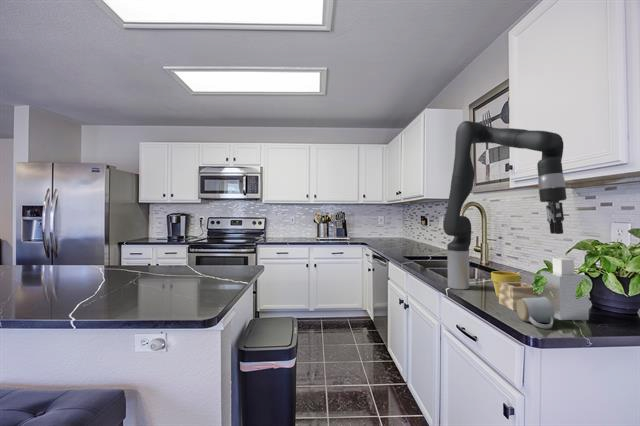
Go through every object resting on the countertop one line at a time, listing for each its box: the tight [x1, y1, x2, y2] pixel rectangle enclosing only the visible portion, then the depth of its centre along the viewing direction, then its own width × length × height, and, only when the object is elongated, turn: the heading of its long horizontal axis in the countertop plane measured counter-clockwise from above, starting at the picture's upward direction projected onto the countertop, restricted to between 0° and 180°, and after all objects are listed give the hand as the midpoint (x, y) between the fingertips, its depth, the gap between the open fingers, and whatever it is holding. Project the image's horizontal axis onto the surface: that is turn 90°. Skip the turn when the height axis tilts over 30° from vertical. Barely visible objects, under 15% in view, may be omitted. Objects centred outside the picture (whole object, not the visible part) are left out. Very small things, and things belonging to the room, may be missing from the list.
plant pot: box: [490, 270, 522, 298], centre depth 128 cm, size 10×10×10 cm
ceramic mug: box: [516, 296, 555, 330], centre depth 98 cm, size 11×8×8 cm
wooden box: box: [498, 281, 540, 312], centre depth 115 cm, size 9×9×8 cm
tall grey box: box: [539, 270, 590, 321], centre depth 105 cm, size 9×9×14 cm
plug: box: [552, 257, 575, 275], centre depth 105 cm, size 4×5×9 cm
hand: (556, 233), depth 109 cm, fingers open, 8 cm apart
